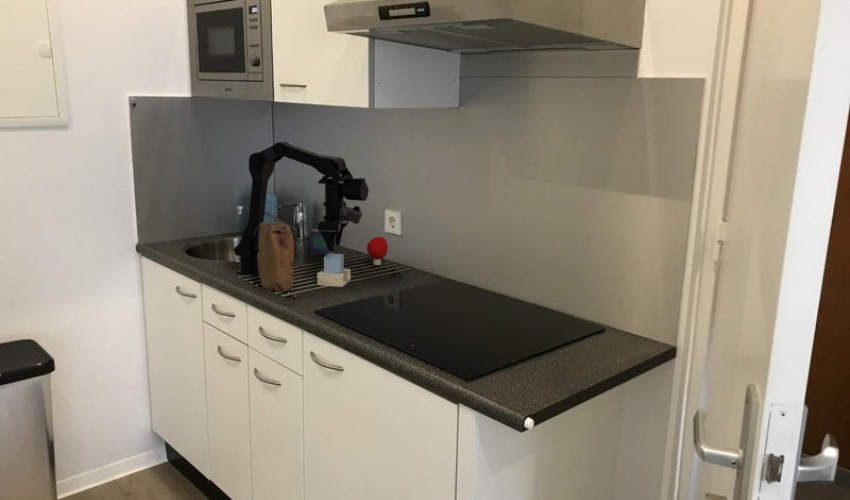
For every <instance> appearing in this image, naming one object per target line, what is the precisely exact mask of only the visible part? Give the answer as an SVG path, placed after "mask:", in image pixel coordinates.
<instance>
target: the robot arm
mask: <svg viewBox="0 0 850 500" xmlns="http://www.w3.org/2000/svg"><path fill="white" fill-rule="evenodd" d="M284 157H285V158H287V159H290V160H293V161H296V162H299V163H301V164H304V165H307V166H310V167H312V168H313V169H315V170H316V171H317V172H318V173H320V174H322V177H321V179H319V180H318V181H317V183H318V184H321V185H322V184H323V185H324V202H323V205H322V206H323V207H324V215H323V219H322V220H320V222H318V223H317V229H318V230H319V232H320V233H321V235H322V237H323V239H324V241H325V243H326V245H327V247H328V249H329V251H330V252H333V253H334V251H335V246H337V247H339V246H340V245H341V240H342V237H343V233H344V228H346V227H347V226H348V225H349V224H350V222H351V223H352V224H354V225H358V224H360V221H361V219H362V217H363V211H361V207H360V206H359V205H355V206H354V207H351V206H350V207H349V206H347V202H346V201H345V200H348V201H357V202H358V201H360V202H366V201H367V199H368V197H369V190H370V189H369V186H368V183H367V182H366V178H365V177H360V178H357V177H356V178H355V177H353V175H352V173H351V171H350V170H349V168H348V167H347V162H346V161H345V159H344V158H343V157H340V156H335V155H334V156H333V155H326V154H325V155H324V154H319V153H316V152H313V151H311V150H307V149H305V148H302V147H299V146H296V145H293V144H291V143H289V142H287V141H279V142H276V143H274V144H273V145H271V146H270V147H268V148H265V149H263V150H261V151H256V152H253V153H252V154H250V155H249V157H248V172H249V174H250V177H251V180H252V181H251V190H250V199H249V210H248V218H247V219H248V221H247V223H246V225H245V227H244V229H243V231H242V234H241V238H240V241H239V243H238V244H237V245H236V246H235V247H234V248H233V252H234V254H235V256H237V257H239V265H240V268H239V269H238V270H237V271H236V274H241V275H242V274H244V275H257V274H259V255H258V252H259V248H258V247H259V226H260V224H261V223H264V222H265V221H264V220H265V214H266V213H265V211H266V202H267V194H268V193H267V192H268V183H269V179H270V178H271V176H272V174H273V172H274V171H275V170H274V169H275V166H276V163H278V162H279V161H281V160H282V159H283V158H284Z"/></svg>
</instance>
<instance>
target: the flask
mask: <svg viewBox="0 0 850 500" xmlns="http://www.w3.org/2000/svg"><path fill="white" fill-rule="evenodd" d="M309 231H310V233H309V237H310V238H309V239H310V242H309V243H310V244H309V254H310V255H315V256H326V255H327V254H328V253H329V254H334V251H333V252H330V251H329V249H328V247H327V245H326V243H325V241H324V239H323V237H322V235H321V233H320V232H319V230H318V228H314V229H310V230H309Z"/></svg>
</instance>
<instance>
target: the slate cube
mask: <svg viewBox="0 0 850 500" xmlns="http://www.w3.org/2000/svg"><path fill="white" fill-rule="evenodd" d="M344 255H345V254H343V253H333V254H329V253H328V254H327V255H326V256H324V257H323V269H324V273H341V272H342V271H343V269H344V268H345V267H344V266H345V265H344V262H345V261H344V257H345V256H344Z"/></svg>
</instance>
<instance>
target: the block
mask: <svg viewBox="0 0 850 500" xmlns="http://www.w3.org/2000/svg"><path fill="white" fill-rule="evenodd" d="M292 232H293V231H292V230H291V226H290V225H289V224H288V223H286V222H285V223H284V222H283V221H282V222H281V221H273V222H270V221H269V222H268V221H264V222H263V223H261V224H260V226H259V247H258V248H259V252H258V268H259V272H258V275H259V280H260V284H261V287H262V288H264V289H265V290H269V291H274V292H285V291H289V290H291V289H293V285H294V269H293V266H294V260H295V259H294V258H295V244H294V235H293V233H292Z"/></svg>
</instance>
